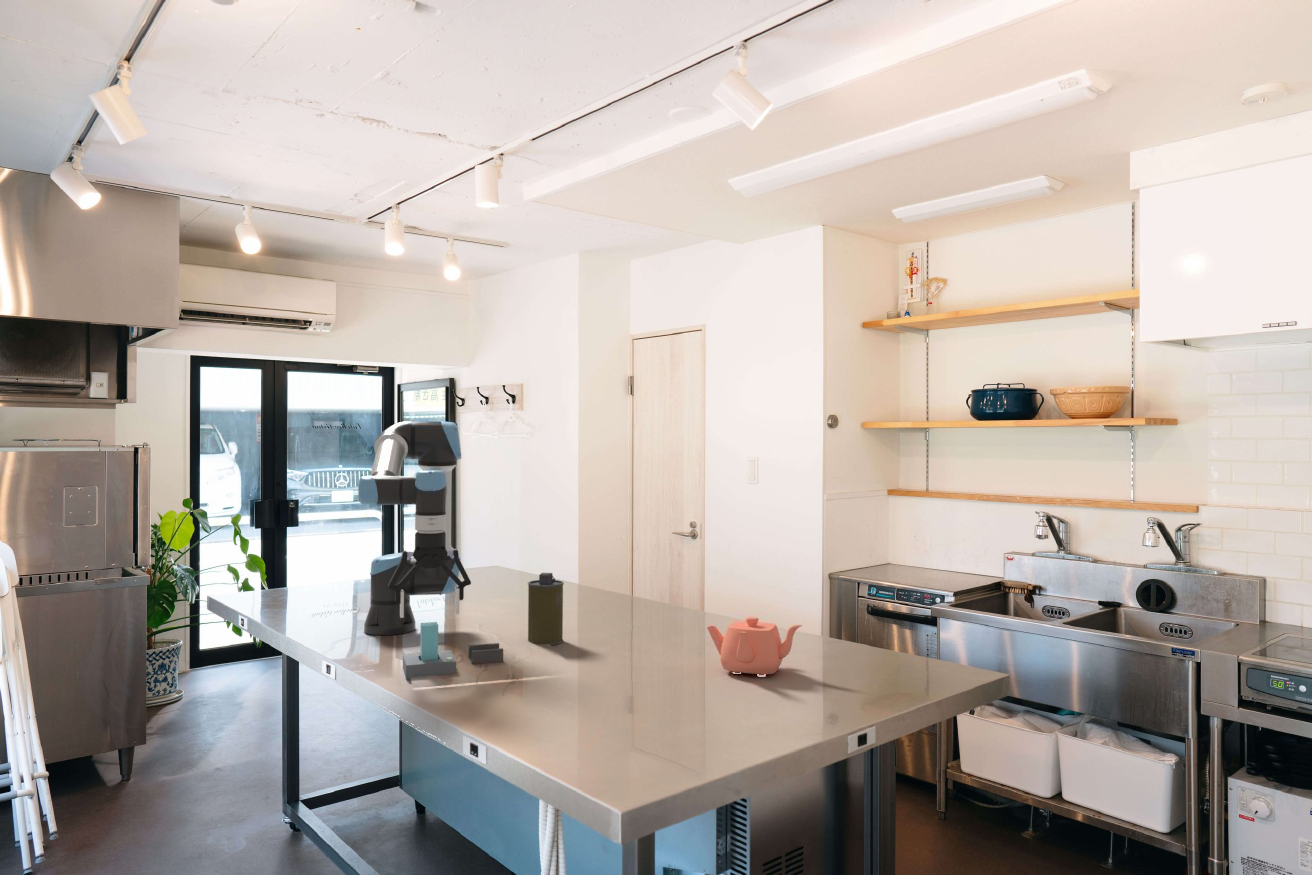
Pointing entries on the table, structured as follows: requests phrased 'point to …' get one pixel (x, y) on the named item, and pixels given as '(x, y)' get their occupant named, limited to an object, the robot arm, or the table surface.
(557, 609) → the canister
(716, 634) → the teapot
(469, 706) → the table surface
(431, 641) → the plug
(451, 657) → the port
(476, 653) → the holster
